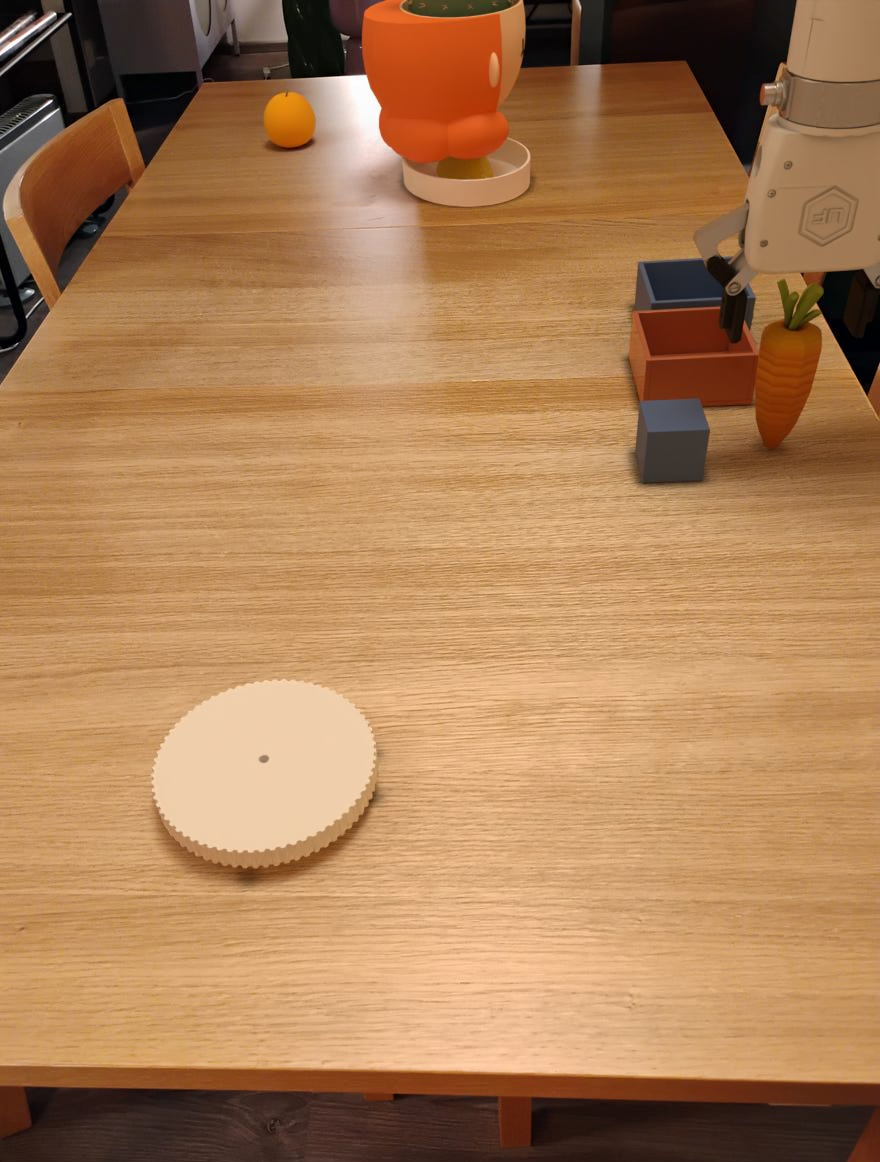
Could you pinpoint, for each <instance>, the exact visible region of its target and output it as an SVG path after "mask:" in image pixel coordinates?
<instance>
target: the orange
mask: <svg viewBox="0 0 880 1162" xmlns="http://www.w3.org/2000/svg"><path fill="white" fill-rule="evenodd" d="M316 121H317V120H316V115H315V111H314V109H313V107H312V105H311V104H310V102H309V101H308V100H307V99H306V97H304V96H303V95H301V94H299V93H297V92H295V91H294V92H293V91H291V92H289V91H286V92H281V93H278V94H276V95H274V96H273V97H272V98H271V99H270V100H269V101H268V103H267V105H266V107H265V109H264V113H263V125H264V126H263V127H264V129H265V132H266V135H267V137H268V138H269V140H270V141H271V142H272V143H273V144H274V145H276V146H278V147H281V148H287V149H288V148H290V149H292V148H297V147H301V146H303V145H305V144H307V143H308V142H310V140H311V139H312V137H313V136H314V133H315V131H316V130H315V129H316V126H317V125H316V124H317V123H316Z"/></svg>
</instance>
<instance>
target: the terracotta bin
mask: <svg viewBox="0 0 880 1162" xmlns="http://www.w3.org/2000/svg"><path fill="white" fill-rule="evenodd" d="M719 313H720V307H702V308H683V309H664V310H645V311H636V310H633V311H632V313H631V324H630V335H629V336H630V337H629V351H628V361H629V365H630V369H631V372H632V373H631V374H632V376H633V380H634V384H635V388H636V392H637V395H638V400H639V402H640V401H654V400H676V399H698V398H699V399H700V402H701V404H702V407H703V408H704V407H705V408H706V407H723V406H724V407H725V406H747V405H753V400H754V396H755V383H756V373H757V364H758V356H759V349H758V346H757V344H756V343H755V340H754V338H753V335H752V333H751V330H750V331H749V329H748V327H747V324H746V322H745V320H744V324H743V330H742V337H741V341H738V343H732V344H731V343H730V341H729V338H728V336H727V333H726V331H725V329H721V328H720V326H719Z"/></svg>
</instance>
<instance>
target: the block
mask: <svg viewBox="0 0 880 1162" xmlns="http://www.w3.org/2000/svg"><path fill="white" fill-rule="evenodd" d="M638 405H639V406H638V415H637V425H636V426H637V427H636V438H635V449H634V452H635V456H636V460H637V465H638V469H639V473H640V478H641V483H643V484H652V483H679V482H681V483H682V482H701V481H703V480H704V474H705V467H706V460H707V454H708V453H707V452H708V446H709V440H710V433H711V428H710V425H709V422H708V419H707V416H706V414H705V411H704V407H702V404H701V402H700V399H699V398H698V399H676V400H654V401H640V400H639V404H638Z"/></svg>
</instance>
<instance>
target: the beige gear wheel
mask: <svg viewBox="0 0 880 1162" xmlns="http://www.w3.org/2000/svg"><path fill="white" fill-rule="evenodd" d="M209 698H210V699H208V700H207V699H204V700H203V701H202V702H201V704H197V705H195V706H194V709H193V710H189V711H187V713H186V715H183V716H182V717H180V721H179V722H175V724H174V727H173V728H170V729H169V731H168V735H165V736H164V738H163V742H161V743H160V745H159V748H160V749H159V750H156V753H155V754H156V756H157V757H154V759H153V764H154V765H152V767H151V770H152V773H151V774H150V778H151V781H150V785H151V787H152V788H151V793H152V796H153V801H154V804H155V806H156V809H157V811H158V813H159V817H160V819H161V822H162V823H163V825H164V828H165V829H166V830H167V831H168V834H170V836H171V837H172V836H173V839H174V841H175V842H176V843H177V842H178V843H179V844H180V846H181V847H182V848H185V847H186V850H187V852H188V853H194V855H195V856H196V857H197V858H200V857H202V858H203V860H204V861H209V860H211V861H212V863H213V864H216V865H217V864H218V863H221V866H224V867H227V866H228V865H230V866H231V867H232V868H238V866H241V868H242V869H248V867H252V869H258V868H259V867H261V866H262V867H263V868H269V866H270V865H273V866H274V867H277V866H280V864H282V863H284V864H285V865H286V864H290V863H291V861H293V860H294V861H295V862H297V861H300V860H301V858H303V857H305V858H307V857H310V856H311V853H318V852H320V851H321V848H327V847H328V846H330V843H331V842H333V843H335V842H336V841H338V837H339V836H344V835H346V830H350V829H352V828H353V823H357V822H358V821H359V820H360V818H359V816H360V815H361V816H362V815H363V814H364V813H365V808H368V807H369V805H370V804H369V803H370V802H369V800H372V799H373V792H375V791H376V784H378V777H379V758H378V757H379V756H378V749H377V743H376V737H375V734H374V733H373V728H372V726H371V724H370V721H369V720H368V719H367V717H366V714H364V713H362V709H360V708H359V707H358V708H357V704H355V703H354V702H352V703H351V700H350V699H349V698H348V697H347V698H345V697H344V694H342V693H339V694H338V692H337V691H336V690H334V689H332V690H330V688H329V687H327V686H325V687H323V686H322V684H319V683H317V684H314V682H312V681H309V682H305V680H299V681H296V679H290V680H287V678H282V679H281V680H278V678H274V679H272V680H268V679H263V681H259V680H257V681H254V682H253V683H250V682H247V683H245V685H240V684H239V685H237V686H235V688H232V687H229V688H228V689H226V691H224V692H223V691H220V692H218V694H217V695H212V696H210V697H209Z"/></svg>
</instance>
